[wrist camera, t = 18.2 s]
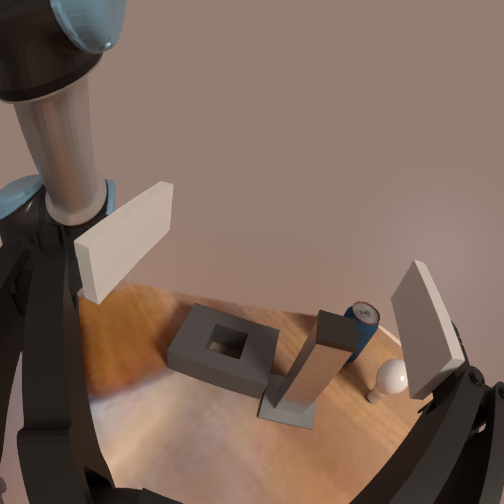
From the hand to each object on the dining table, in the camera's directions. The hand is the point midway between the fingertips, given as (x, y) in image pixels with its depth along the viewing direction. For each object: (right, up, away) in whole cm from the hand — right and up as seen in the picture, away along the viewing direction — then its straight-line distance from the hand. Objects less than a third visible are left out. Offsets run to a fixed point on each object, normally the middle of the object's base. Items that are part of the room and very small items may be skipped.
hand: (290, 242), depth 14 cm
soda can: (+16, -21, +39) cm, 47 cm away
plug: (+4, -25, +27) cm, 37 cm away
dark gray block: (-7, -19, +33) cm, 38 cm away
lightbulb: (+20, -28, +30) cm, 46 cm away
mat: (+4, -25, +27) cm, 38 cm away
